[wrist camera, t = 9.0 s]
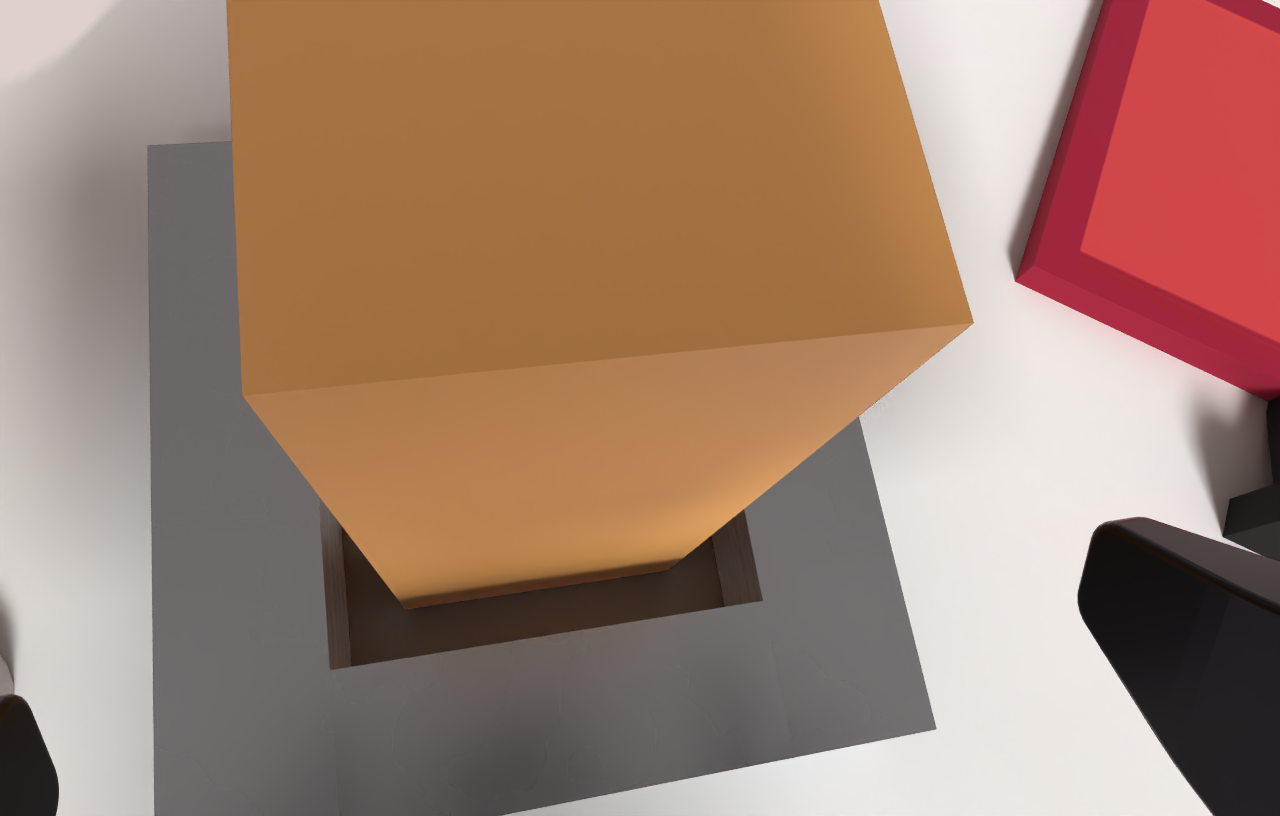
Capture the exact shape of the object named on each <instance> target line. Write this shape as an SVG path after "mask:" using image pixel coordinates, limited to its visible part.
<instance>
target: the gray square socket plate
mask: <svg viewBox="0 0 1280 816" xmlns="http://www.w3.org/2000/svg"><path fill="white" fill-rule="evenodd" d="M148 232H149V328H150V425H151V522H152V619H153V716H154V812H155V816H501V815H506V814H511V813H516V812H521V811H526V810H531V809H536V808H541V807H546V806H551V805H556V804H561V803H566V802H571V801H576V800H581V799H587V798H592V797H597V796H602V795H607V794H612V793H617V792H622V791H627V790H632V789H637V788H642V787H647V786H652V785H657V784H662V783H667V782H673V781H678V780H683V779H688V778H693V777H698V776H703V775H708V774H713V773H718V772H723V771H728V770H733V769H738V768H743V767H748V766H753V765H758V764H764V763H769V762H774V761H779V760H784V759H789V758H794V757H799V756H804V755H809V754H814V753H819V752H824V751H829V750H834V749H839V748H844V747H849V746H855V745H860V744H865V743H870V742H875V741H880V740H885V739H890V738H895V737H900V736H905V735H910V734H915V733H920V732H925V731H930V730H935V729H936V725H935V721H934V717H933V713H932V709H931V705H930V701H929V697H928V693H927V689H926V685H925V681H924V677H923V673H922V669H921V665H920V661H919V657H918V653H917V649H916V645H915V641H914V637H913V633H912V629H911V625H910V621H909V617H908V613H907V609H906V605H905V601H904V597H903V593H902V589H901V585H900V581H899V577H898V572H897V568H896V564H895V560H894V556H893V552H892V548H891V544H890V540H889V536H888V532H887V528H886V524H885V520H884V516H883V512H882V508H881V504H880V500H879V496H878V492H877V488H876V484H875V480H874V476H873V472H872V468H871V464H870V460H869V456H868V452H867V448H866V444H865V440H864V436H863V432H862V428H861V424H860V420H859V416H858V417H857V418H856V419H854V420H853V421H852V422H851V423H850V424H848V425H847V426H846V427H845V428H843V429H842V430H841V431H840V432H838V433H837V434H836V435H835V436H833V437H832V438H831V439H830V440H829V441H827V442H826V443H825V444H824V445H822V446H821V447H820V448H819V449H817V450H816V451H815V452H814V453H812V454H811V455H810V456H809V457H808V458H806V459H805V460H804V461H803V462H801V463H800V464H799V465H798V466H796V467H795V468H794V469H793V470H791V471H790V472H789V473H788V474H787V475H785V476H784V477H783V478H782V479H780V480H779V481H778V482H777V483H775V484H774V485H773V486H772V487H770V488H769V489H768V490H767V491H766V492H764V493H763V494H762V495H761V496H759V497H758V498H757V499H756V500H754V501H753V502H752V503H751V504H749V505H748V506H747V507H746V508H744V509H743V510H742V511H741V512H740V513H738V514H737V515H736V516H735V517H733V518H732V519H731V520H730V521H728V522H727V523H726V524H725V525H723V526H722V527H721V528H720V529H719V530H717V531H716V532H715V533H714V534H712V535H711V538H712V543H713V548H714V553H715V558H716V564H717V569H718V574H719V579H720V585H721V590H722V595H723V600H724V605H725V607H721V608H715V609H709V610H703V611H696V612H690V613H684V614H678V615H671V616H665V617H659V618H653V619H646V620H640V621H634V622H628V623H621V624H615V625H609V626H603V627H596V628H590V629H584V630H578V631H571V632H565V633H559V634H553V635H546V636H540V637H534V638H528V639H522V640H515V641H509V642H503V643H497V644H490V645H484V646H478V647H472V648H465V649H459V650H453V651H447V652H440V653H434V654H428V655H422V656H415V657H409V658H403V659H397V660H390V661H384V662H378V663H372V664H365V665H359V666H353V667H352V664H351V651H350V637H349V623H348V609H347V595H346V581H345V567H344V553H343V540H342V526H341V524H340V523H339V522H338V520H337V519H336V518H335V516H334V515H333V514H332V512H331V511H330V510H329V509H328V507H327V506H326V505H325V503H324V502H323V501H322V499H321V498H320V497H319V495H318V494H317V493H316V492H315V490H314V489H313V488H312V486H311V485H310V484H309V482H308V481H307V480H306V478H305V477H304V476H303V475H302V473H301V472H300V471H299V469H298V468H297V467H296V465H295V464H294V463H293V461H292V460H291V459H290V457H289V456H288V455H287V454H286V452H285V451H284V450H283V448H282V447H281V446H280V444H279V443H278V442H277V440H276V439H275V438H274V437H273V435H272V434H271V433H270V431H269V430H268V429H267V427H266V426H265V425H264V423H263V422H262V421H261V420H260V418H259V417H258V416H257V414H256V413H255V412H254V410H253V409H252V408H251V406H250V405H249V404H248V402H247V401H246V400H245V399H244V397H243V396H242V376H241V351H240V326H239V301H238V276H237V251H236V226H235V201H234V176H233V151H232V142H211V143H191V144H170V145H149V146H148Z"/></svg>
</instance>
